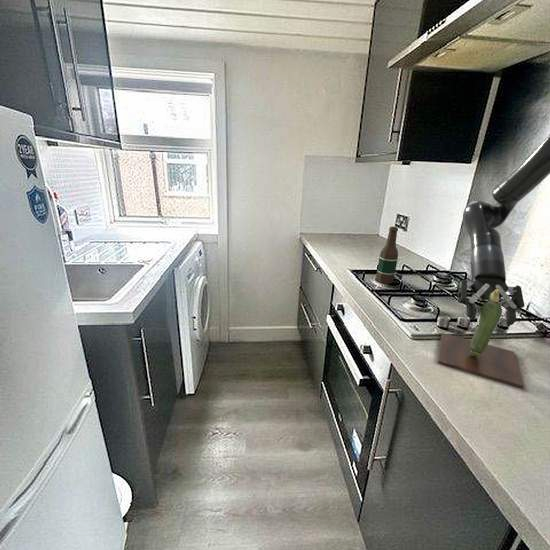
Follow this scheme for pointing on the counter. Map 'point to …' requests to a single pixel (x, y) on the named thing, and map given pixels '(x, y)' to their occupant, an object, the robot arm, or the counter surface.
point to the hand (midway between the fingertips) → (491, 321)
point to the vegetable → (486, 323)
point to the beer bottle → (388, 259)
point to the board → (480, 360)
